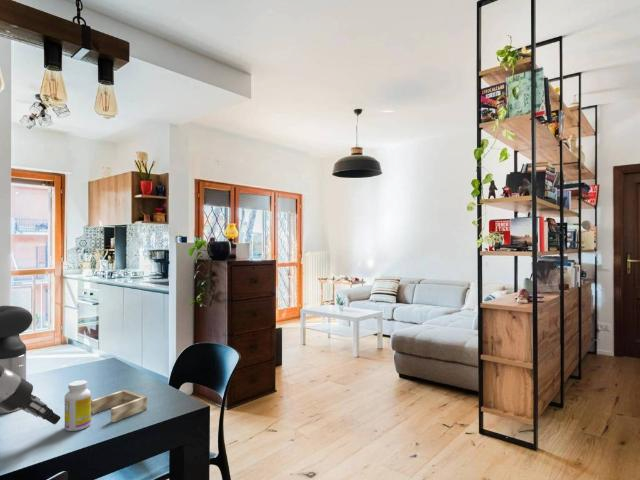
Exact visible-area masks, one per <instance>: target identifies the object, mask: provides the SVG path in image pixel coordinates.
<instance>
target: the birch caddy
mask: <svg viewBox="0 0 640 480" xmlns="http://www.w3.org/2000/svg"><path fill="white" fill-rule="evenodd" d="M108 409H110V422H111V423H113V422H114V423H116V422H118V421H121V420H123V418H124V419H126V418H129V417H131V416H134V415H136V414H139V413H143V412H144V411H147V409H148V397H147V396H146V395H141V394H138V393H136V392H133V391H130V390H127V389H123V390H119V391H117V392H116V391H115V392H112V393H110V394H107V395H104V396H100V397H98V398H95V399H91V413H92V414H91V415H95V414H98V413H100V412H102V411H105V410H108ZM97 412H98V413H97ZM94 413H95V414H94Z"/></svg>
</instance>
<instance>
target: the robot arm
mask: <svg viewBox="0 0 640 480" xmlns="http://www.w3.org/2000/svg"><path fill="white" fill-rule="evenodd" d="M32 324H33V315H32V313H31V311H29V310H28V309H26V308H25V307H21V306H17V305H16V306H15V305H0V415H2V414H8V413H13V412H15V411H19V410H21V411H24V412H25V413H28V414H30V415H32V416H34V417H35V418H36V417H37V418H38V417H39V418H41V419H42V420H45V421H48V422H49V423H51V424H52V425H56V424H58V422H60V420H61V418H62V417H61V416H60V415H58V414H56V413H55V412H54V411H53V409H52V408H50V407H49V406H48V404H46V403H45V402H44V401H42V400H41V398H39V397H38V396H36V395H33V394H32V393H33V391H34V385H33V384H32V383H31V382H29V381H28V380H27V347H26V346H27V345H26V343H24V342H23V340H21V337H20V334H23V333H24V332H25V331H27V330H28V329H29V328H30V327H31V325H32Z"/></svg>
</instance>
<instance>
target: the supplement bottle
mask: <svg viewBox="0 0 640 480" xmlns="http://www.w3.org/2000/svg"><path fill="white" fill-rule="evenodd" d="M87 386H88V381H87V380H84V379H83V380H75V381H74V380H73V381H72V382H70V383H68V387H67V389H68V390H69V391H68V392H67V393H66V394H65V395H64V429H65V430H66V431H69V432H77V431H81V430H85V429H86V428H88V427H89V426H90V425H91V423H92V414H91V400H92V394H91V390H90V389H88V388H87Z"/></svg>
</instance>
